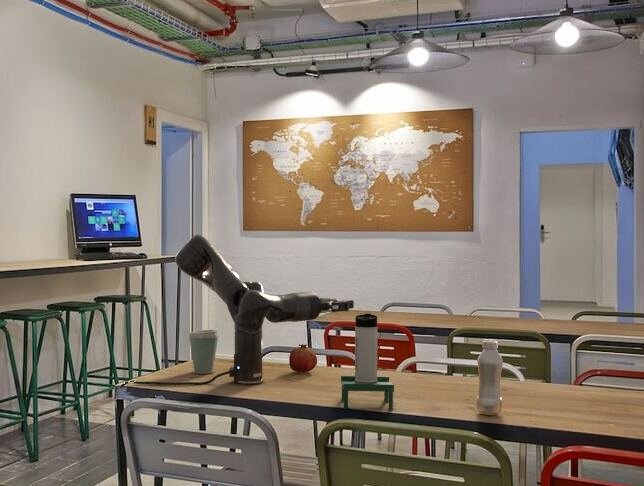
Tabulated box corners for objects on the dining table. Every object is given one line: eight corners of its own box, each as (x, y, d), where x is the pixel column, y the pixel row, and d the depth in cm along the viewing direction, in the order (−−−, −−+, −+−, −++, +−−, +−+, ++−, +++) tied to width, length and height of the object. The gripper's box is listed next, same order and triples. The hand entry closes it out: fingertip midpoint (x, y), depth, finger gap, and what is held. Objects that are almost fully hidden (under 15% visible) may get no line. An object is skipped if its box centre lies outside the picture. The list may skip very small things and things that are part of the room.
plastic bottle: (472, 412, 204) (473, 339, 203) (495, 411, 204) (496, 339, 204) (481, 417, 197) (482, 343, 197) (506, 417, 198) (507, 342, 197)
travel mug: (378, 382, 214) (379, 313, 214) (375, 387, 208) (375, 316, 207) (357, 381, 217) (357, 313, 216) (353, 385, 210) (353, 315, 210)
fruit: (306, 369, 269) (306, 341, 269) (323, 373, 260) (323, 345, 260) (282, 371, 264) (282, 343, 263) (298, 376, 255) (298, 347, 255)
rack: (343, 409, 207) (343, 383, 207) (340, 399, 219) (340, 375, 219) (394, 410, 206) (394, 384, 206) (388, 400, 218) (388, 376, 218)
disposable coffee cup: (187, 375, 258) (187, 332, 257) (190, 369, 269) (190, 328, 268) (217, 375, 258) (217, 332, 257) (219, 369, 268) (219, 328, 268)
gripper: (280, 318, 200) (322, 314, 210) (319, 323, 189) (360, 318, 199) (280, 291, 199) (322, 288, 210) (319, 294, 188) (361, 291, 199)
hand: (340, 303), depth 204 cm, fingers open, 8 cm apart
